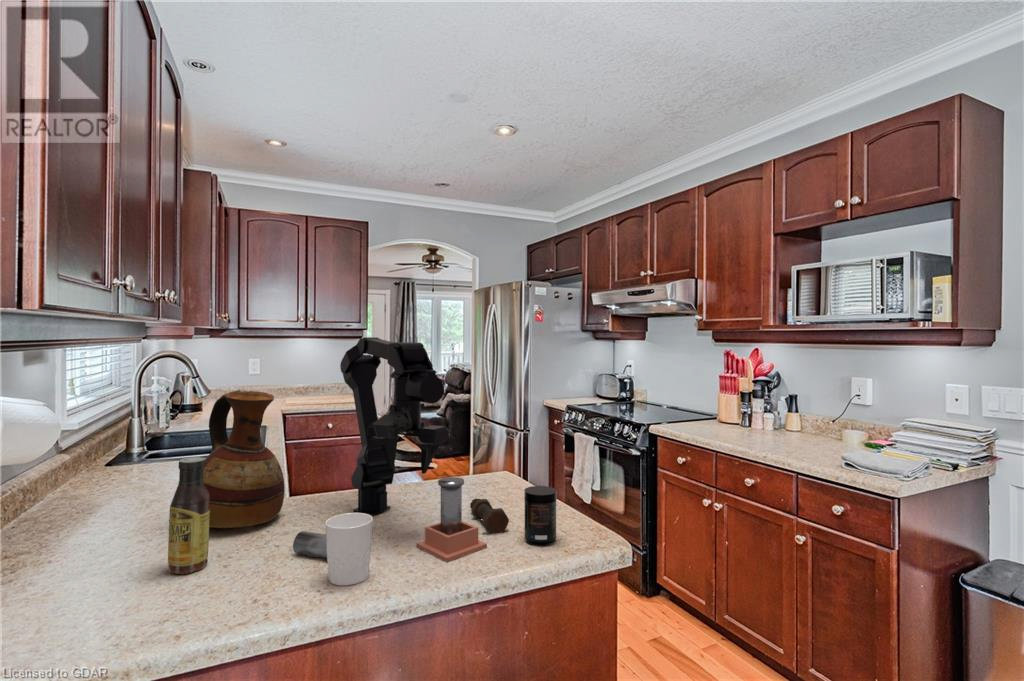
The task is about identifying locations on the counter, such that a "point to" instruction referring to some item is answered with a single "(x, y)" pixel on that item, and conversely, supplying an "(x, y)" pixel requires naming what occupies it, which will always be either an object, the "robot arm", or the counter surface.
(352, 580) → the white cup
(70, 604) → the counter surface
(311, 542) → the pin
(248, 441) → the ceramic pitcher
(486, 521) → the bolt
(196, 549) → the sauce bottle
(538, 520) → the supplement container
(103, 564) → the counter surface
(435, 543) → the square planter with saucer
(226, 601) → the counter surface
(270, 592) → the counter surface
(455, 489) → the steel pin
